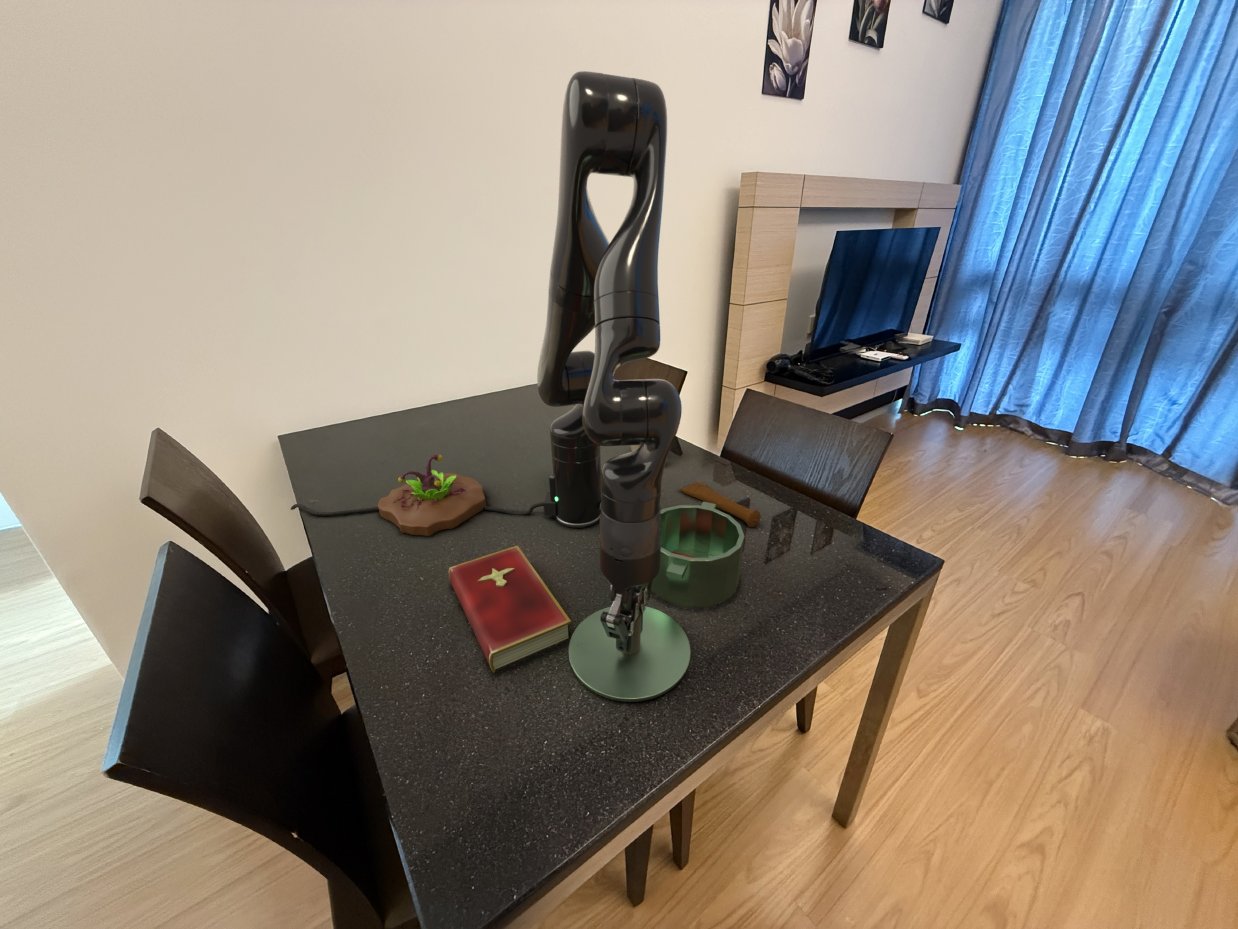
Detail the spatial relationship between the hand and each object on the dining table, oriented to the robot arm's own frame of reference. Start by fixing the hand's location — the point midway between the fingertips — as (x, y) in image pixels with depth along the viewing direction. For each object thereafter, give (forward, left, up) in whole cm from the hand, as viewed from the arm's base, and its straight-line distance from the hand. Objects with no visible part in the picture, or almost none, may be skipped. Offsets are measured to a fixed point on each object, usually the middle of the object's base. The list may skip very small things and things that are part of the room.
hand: (629, 640), depth 72 cm
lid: (0, 0, -2) cm, 2 cm away
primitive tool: (+2, +44, -3) cm, 44 cm away
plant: (-52, +22, -3) cm, 56 cm away
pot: (+3, +20, -3) cm, 20 cm away
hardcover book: (-21, +1, -3) cm, 21 cm away
